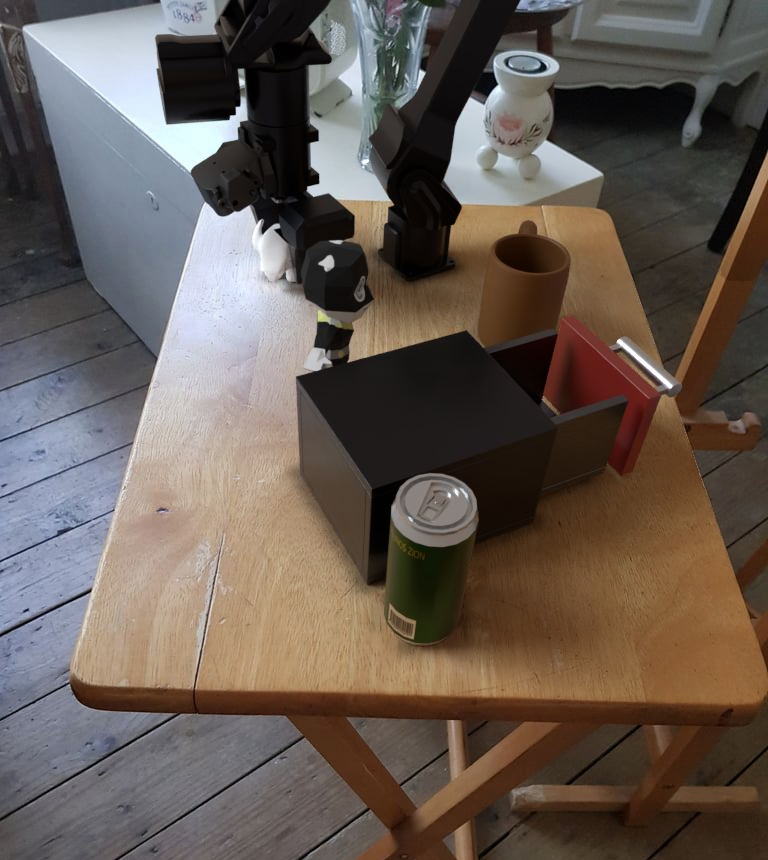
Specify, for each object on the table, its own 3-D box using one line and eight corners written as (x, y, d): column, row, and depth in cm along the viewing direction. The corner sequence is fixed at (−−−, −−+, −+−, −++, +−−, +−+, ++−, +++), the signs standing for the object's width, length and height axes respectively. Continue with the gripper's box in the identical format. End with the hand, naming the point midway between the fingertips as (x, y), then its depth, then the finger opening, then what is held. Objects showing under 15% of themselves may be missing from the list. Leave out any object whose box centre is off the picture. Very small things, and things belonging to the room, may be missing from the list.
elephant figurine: (240, 287, 85) (235, 234, 81) (273, 250, 90) (270, 199, 86) (300, 302, 84) (298, 249, 79) (330, 264, 89) (330, 212, 84)
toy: (353, 453, 69) (357, 300, 58) (284, 441, 69) (274, 287, 58) (385, 359, 78) (393, 210, 67) (323, 349, 78) (321, 200, 67)
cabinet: (453, 425, 72) (466, 329, 64) (532, 522, 64) (558, 427, 57) (299, 474, 67) (295, 376, 59) (367, 585, 60) (371, 489, 52)
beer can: (438, 662, 55) (458, 549, 47) (369, 628, 57) (375, 513, 48) (470, 606, 59) (495, 490, 50) (404, 576, 60) (416, 459, 51)
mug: (479, 289, 87) (491, 205, 80) (550, 297, 86) (569, 213, 79) (474, 357, 79) (488, 270, 72) (553, 366, 78) (574, 279, 71)
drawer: (596, 378, 76) (619, 301, 70) (678, 455, 69) (711, 378, 63) (423, 432, 70) (432, 353, 64) (494, 523, 63) (511, 444, 57)
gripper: (156, 93, 77) (179, 244, 88) (241, 175, 66) (255, 334, 78) (263, 74, 81) (272, 221, 92) (359, 148, 71) (356, 303, 82)
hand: (286, 267), depth 86 cm, fingers open, 6 cm apart
